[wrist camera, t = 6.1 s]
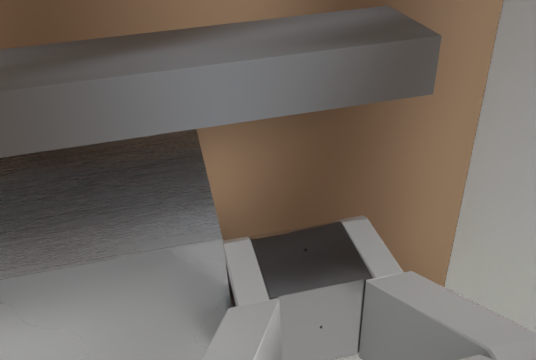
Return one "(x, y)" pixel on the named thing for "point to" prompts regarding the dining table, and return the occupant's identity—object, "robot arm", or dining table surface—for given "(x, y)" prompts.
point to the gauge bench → (269, 102)
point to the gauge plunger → (110, 252)
